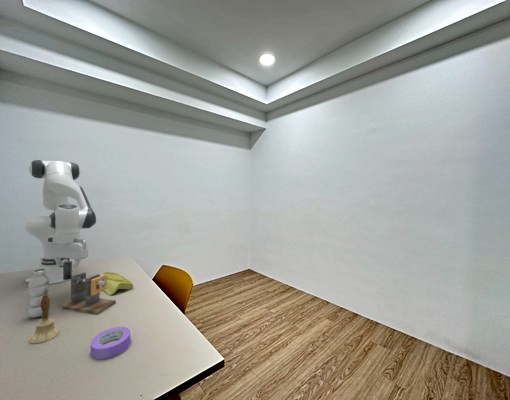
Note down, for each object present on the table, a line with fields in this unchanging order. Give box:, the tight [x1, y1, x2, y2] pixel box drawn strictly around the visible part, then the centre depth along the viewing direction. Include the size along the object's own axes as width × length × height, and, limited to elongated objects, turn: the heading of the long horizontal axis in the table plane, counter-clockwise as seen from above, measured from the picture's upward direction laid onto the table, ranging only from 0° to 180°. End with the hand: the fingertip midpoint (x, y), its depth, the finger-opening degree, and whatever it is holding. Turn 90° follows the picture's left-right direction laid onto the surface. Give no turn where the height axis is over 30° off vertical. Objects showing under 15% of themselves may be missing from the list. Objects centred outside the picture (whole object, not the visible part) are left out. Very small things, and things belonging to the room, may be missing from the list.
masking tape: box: [90, 326, 131, 360], centre depth 76 cm, size 12×12×4 cm
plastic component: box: [102, 271, 134, 296], centre depth 122 cm, size 20×7×10 cm
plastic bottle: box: [27, 269, 51, 319], centre depth 92 cm, size 6×7×20 cm
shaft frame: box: [61, 272, 117, 315], centre depth 101 cm, size 19×10×14 cm, turn 80°
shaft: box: [63, 260, 106, 286], centre depth 102 cm, size 23×3×9 cm, turn 80°
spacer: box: [91, 273, 107, 295], centre depth 100 cm, size 1×7×7 cm, turn 170°
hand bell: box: [28, 293, 61, 345], centre depth 80 cm, size 8×8×16 cm
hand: (67, 266), depth 103 cm, fingers open, 8 cm apart
